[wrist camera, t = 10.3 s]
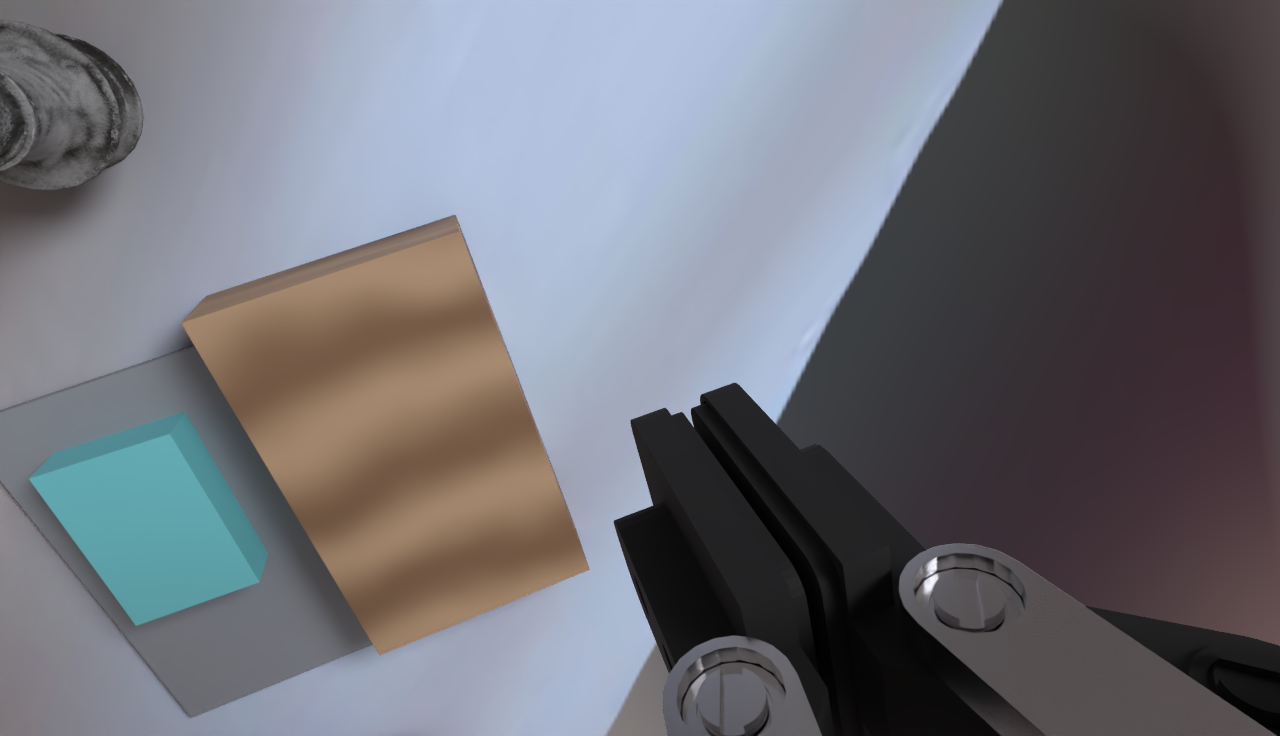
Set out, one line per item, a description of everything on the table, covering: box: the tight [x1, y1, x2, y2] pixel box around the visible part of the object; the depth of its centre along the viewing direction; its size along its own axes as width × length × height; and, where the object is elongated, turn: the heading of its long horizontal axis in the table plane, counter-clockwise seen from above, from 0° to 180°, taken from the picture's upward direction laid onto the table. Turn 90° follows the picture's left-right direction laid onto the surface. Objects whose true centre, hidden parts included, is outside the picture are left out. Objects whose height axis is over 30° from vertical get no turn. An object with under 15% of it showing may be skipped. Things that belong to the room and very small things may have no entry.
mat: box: [0, 346, 372, 717], centre depth 38 cm, size 20×11×1 cm, turn 16°
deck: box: [181, 215, 589, 655], centre depth 37 cm, size 20×12×4 cm, turn 16°
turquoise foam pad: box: [29, 412, 268, 626], centre depth 35 cm, size 9×6×2 cm, turn 14°
